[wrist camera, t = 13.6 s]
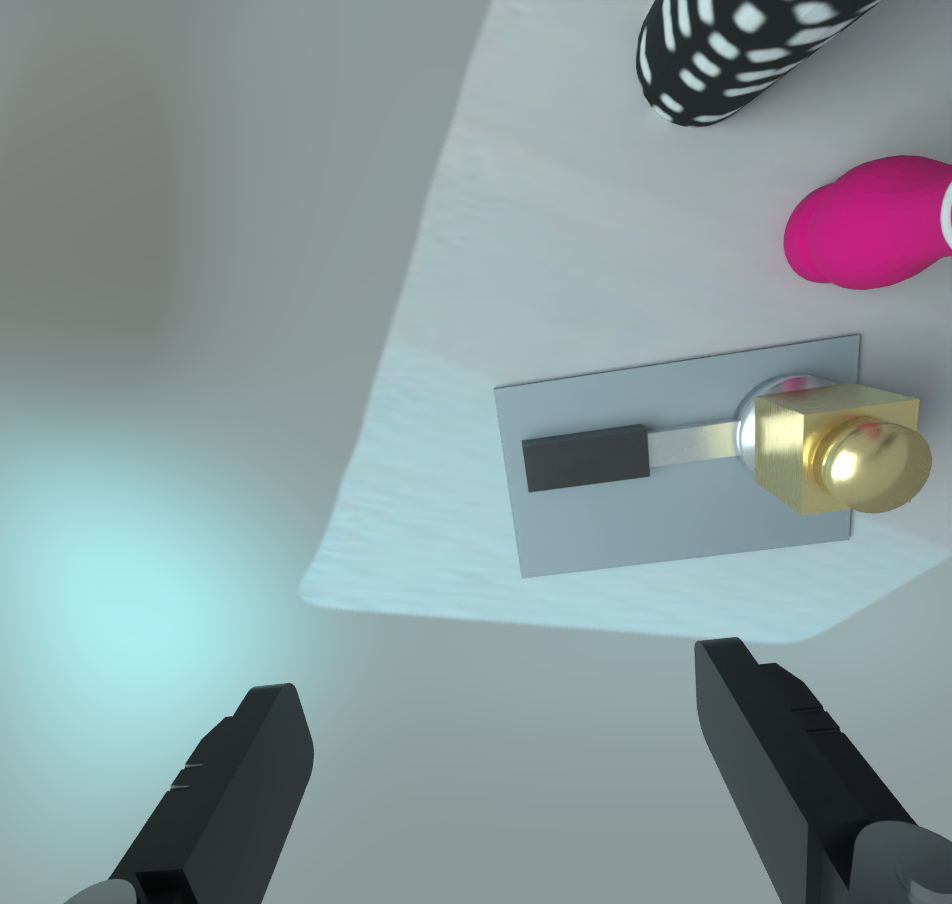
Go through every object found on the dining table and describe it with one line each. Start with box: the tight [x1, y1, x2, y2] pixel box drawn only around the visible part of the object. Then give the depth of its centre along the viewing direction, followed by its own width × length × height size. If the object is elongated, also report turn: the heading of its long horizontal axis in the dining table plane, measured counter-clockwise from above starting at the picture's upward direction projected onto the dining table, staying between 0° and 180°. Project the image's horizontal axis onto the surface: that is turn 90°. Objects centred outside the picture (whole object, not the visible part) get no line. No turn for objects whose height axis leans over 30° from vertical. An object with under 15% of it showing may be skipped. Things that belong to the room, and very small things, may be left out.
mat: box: [494, 335, 860, 578], centre depth 40 cm, size 16×26×1 cm, turn 99°
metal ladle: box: [521, 373, 836, 493], centre depth 36 cm, size 8×24×6 cm, turn 99°
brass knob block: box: [755, 383, 932, 515], centre depth 33 cm, size 6×6×8 cm
